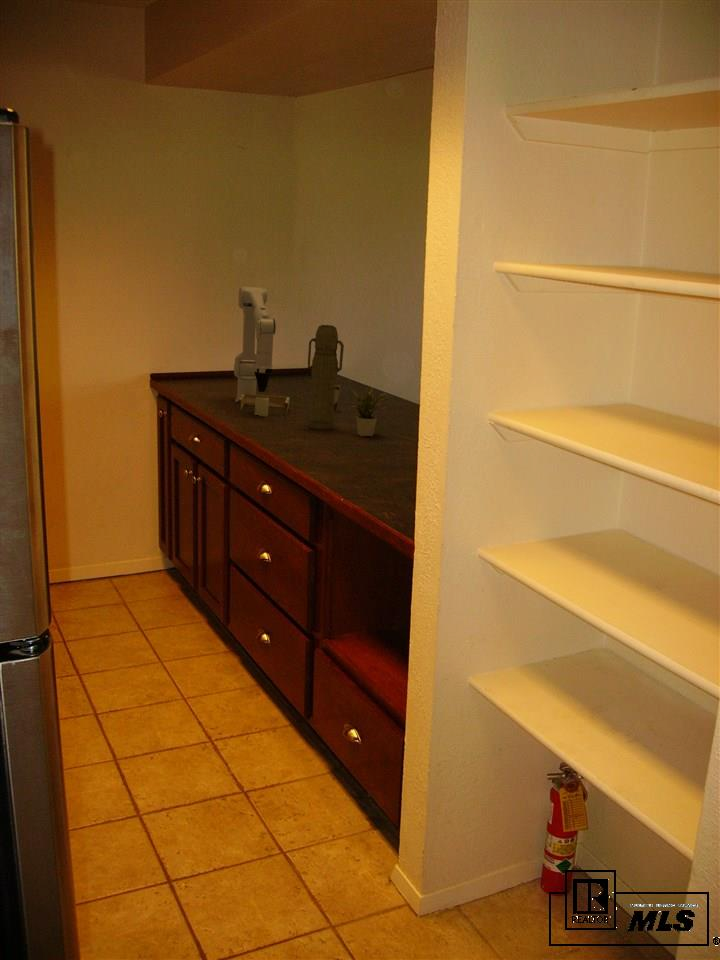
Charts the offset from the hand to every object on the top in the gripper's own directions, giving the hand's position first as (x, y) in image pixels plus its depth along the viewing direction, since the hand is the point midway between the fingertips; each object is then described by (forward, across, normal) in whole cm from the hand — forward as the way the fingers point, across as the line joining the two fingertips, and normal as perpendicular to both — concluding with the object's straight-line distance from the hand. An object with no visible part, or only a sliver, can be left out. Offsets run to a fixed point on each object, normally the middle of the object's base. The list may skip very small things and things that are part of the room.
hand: (262, 390), depth 342 cm
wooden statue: (+9, +16, +22) cm, 29 cm away
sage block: (+9, 0, 0) cm, 9 cm away
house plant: (+9, +25, +38) cm, 46 cm away
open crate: (+9, -11, 0) cm, 14 cm away
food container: (+9, -15, +22) cm, 28 cm away
